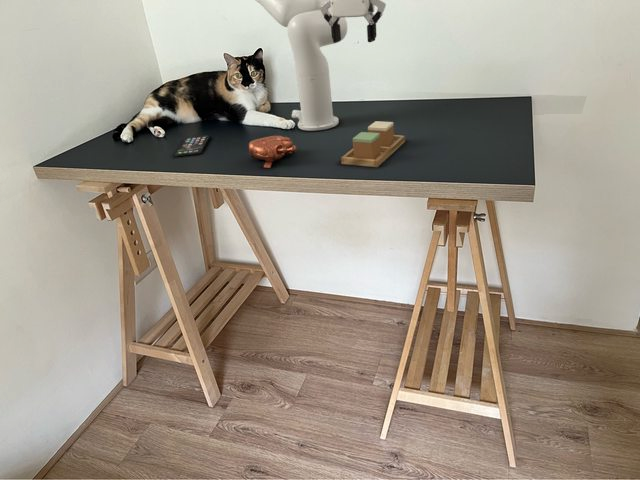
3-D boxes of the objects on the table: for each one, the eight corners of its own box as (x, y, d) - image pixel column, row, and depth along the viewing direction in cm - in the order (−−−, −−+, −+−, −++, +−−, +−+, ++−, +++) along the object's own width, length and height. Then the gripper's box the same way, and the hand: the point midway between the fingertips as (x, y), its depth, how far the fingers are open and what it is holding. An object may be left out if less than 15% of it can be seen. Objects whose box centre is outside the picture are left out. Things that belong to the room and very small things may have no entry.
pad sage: (354, 159, 121) (352, 138, 118) (362, 152, 125) (361, 131, 122) (372, 161, 119) (371, 139, 116) (380, 154, 122) (379, 133, 120)
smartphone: (174, 154, 138) (185, 137, 151) (174, 157, 138) (186, 139, 151) (200, 152, 138) (209, 135, 151) (200, 154, 138) (210, 137, 151)
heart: (235, 143, 124) (288, 146, 118) (259, 131, 133) (309, 134, 128) (238, 165, 126) (290, 170, 121) (261, 152, 136) (310, 156, 130)
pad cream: (368, 147, 128) (367, 127, 125) (376, 141, 131) (375, 121, 128) (386, 149, 125) (386, 128, 123) (394, 142, 129) (393, 122, 126)
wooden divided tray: (341, 163, 121) (340, 157, 120) (371, 139, 134) (371, 133, 134) (377, 167, 116) (377, 161, 116) (405, 141, 130) (405, 135, 129)
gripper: (390, -40, 114) (391, 38, 123) (325, -34, 122) (331, 39, 131) (377, -38, 109) (379, 44, 117) (309, -32, 117) (317, 44, 125)
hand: (354, 41), depth 124 cm, fingers open, 9 cm apart
